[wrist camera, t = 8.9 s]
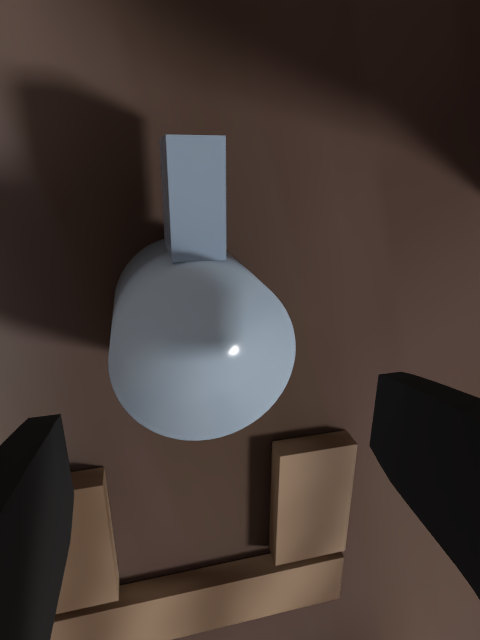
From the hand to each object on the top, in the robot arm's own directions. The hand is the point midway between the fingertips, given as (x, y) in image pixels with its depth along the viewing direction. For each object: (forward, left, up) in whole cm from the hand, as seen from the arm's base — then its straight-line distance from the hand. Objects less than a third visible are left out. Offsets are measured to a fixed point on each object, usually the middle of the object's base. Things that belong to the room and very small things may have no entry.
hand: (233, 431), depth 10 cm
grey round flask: (0, +2, -9) cm, 9 cm away
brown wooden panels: (0, -13, -9) cm, 16 cm away
